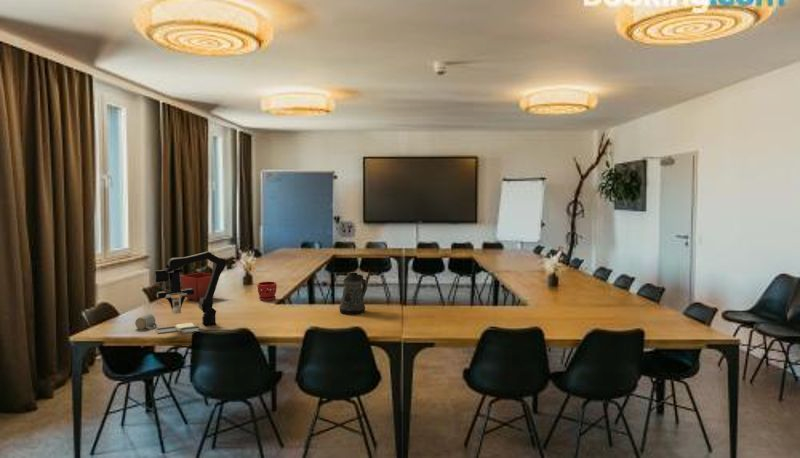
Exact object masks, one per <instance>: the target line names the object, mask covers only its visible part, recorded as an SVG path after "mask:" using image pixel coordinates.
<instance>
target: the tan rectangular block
mask: <svg viewBox="0 0 800 458" xmlns="http://www.w3.org/2000/svg"><path fill="white" fill-rule="evenodd" d="M171 298H172V297H171ZM172 304H173V309H172V308H171V313H172V314H173V315H176V314H181V313H182V307H181V302H180V297H173V298H172Z"/></svg>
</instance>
